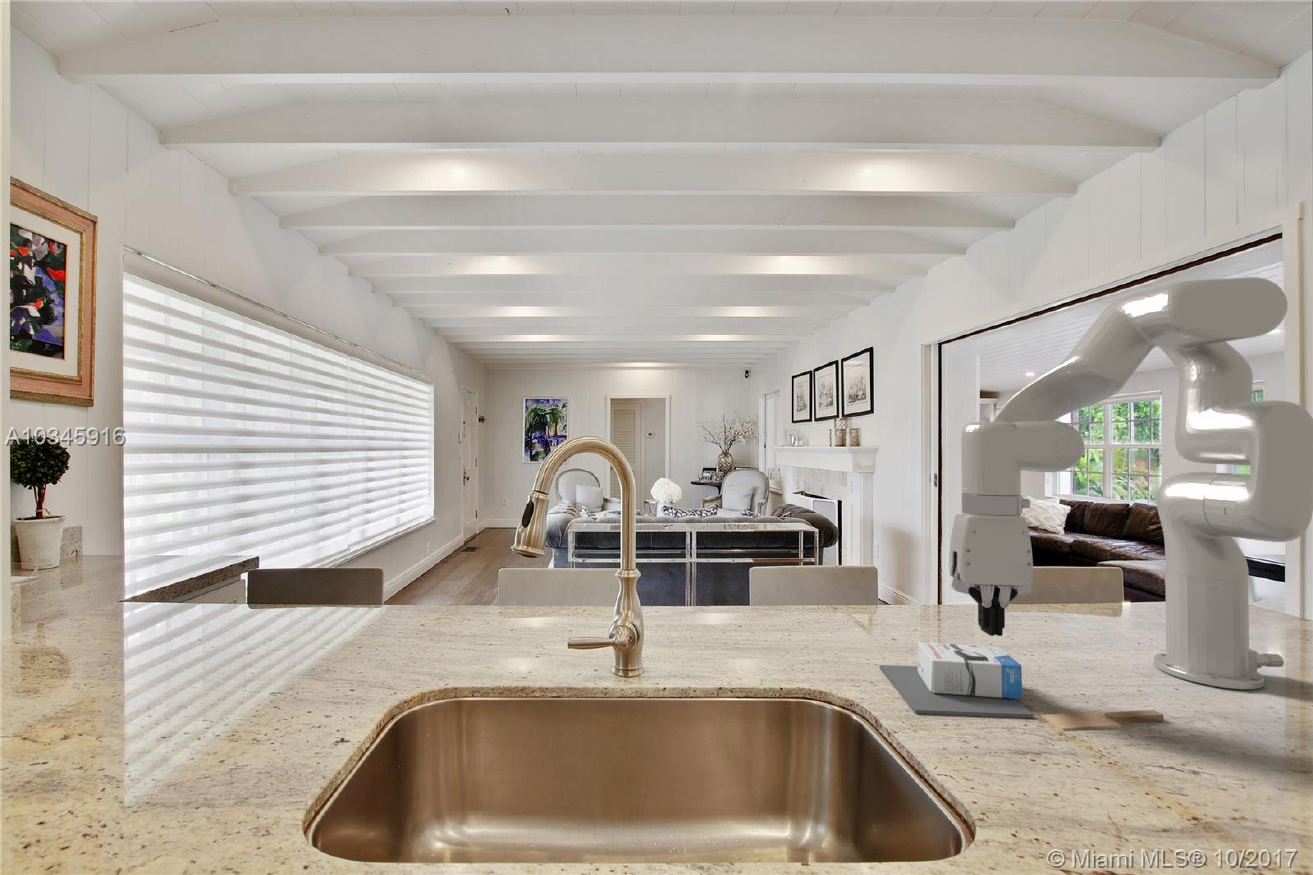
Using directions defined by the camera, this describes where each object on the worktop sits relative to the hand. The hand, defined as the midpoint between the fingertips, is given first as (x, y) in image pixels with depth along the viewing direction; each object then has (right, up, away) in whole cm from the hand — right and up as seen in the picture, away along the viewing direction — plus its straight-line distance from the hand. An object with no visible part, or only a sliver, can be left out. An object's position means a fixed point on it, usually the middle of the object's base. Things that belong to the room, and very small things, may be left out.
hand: (991, 632), depth 85 cm
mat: (-6, -9, 0) cm, 10 cm away
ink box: (+3, -6, 0) cm, 6 cm away
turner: (+9, -9, -9) cm, 15 cm away
